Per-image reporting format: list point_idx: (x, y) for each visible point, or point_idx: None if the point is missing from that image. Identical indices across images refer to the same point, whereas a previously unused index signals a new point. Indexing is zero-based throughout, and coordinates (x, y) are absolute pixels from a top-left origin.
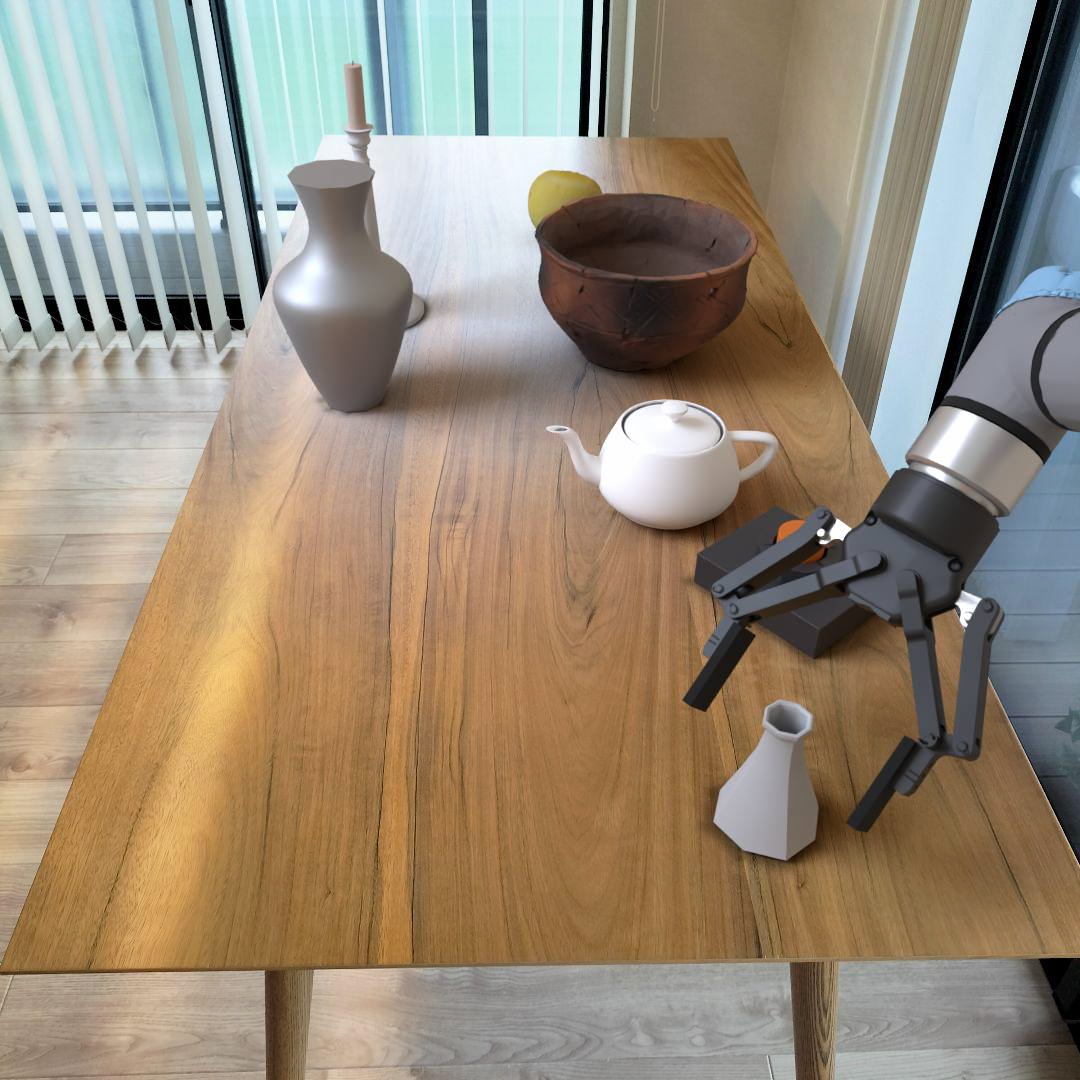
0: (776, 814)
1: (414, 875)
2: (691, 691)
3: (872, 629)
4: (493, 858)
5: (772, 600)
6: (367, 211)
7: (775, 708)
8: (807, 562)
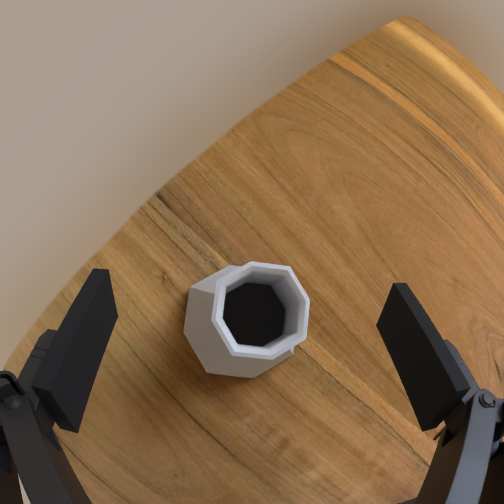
0: (213, 284)
1: (376, 91)
2: (409, 294)
3: None
4: (362, 123)
5: (467, 461)
6: None
7: (296, 317)
8: None
